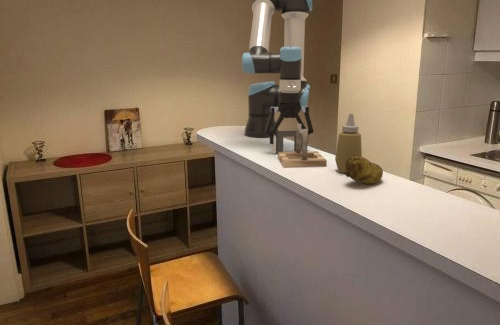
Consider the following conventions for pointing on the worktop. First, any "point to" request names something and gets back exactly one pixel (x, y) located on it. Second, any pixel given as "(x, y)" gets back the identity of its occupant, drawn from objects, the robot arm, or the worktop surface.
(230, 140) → the worktop surface
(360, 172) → the potato
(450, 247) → the worktop surface
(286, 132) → the grey notched block
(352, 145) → the squeeze bottle
